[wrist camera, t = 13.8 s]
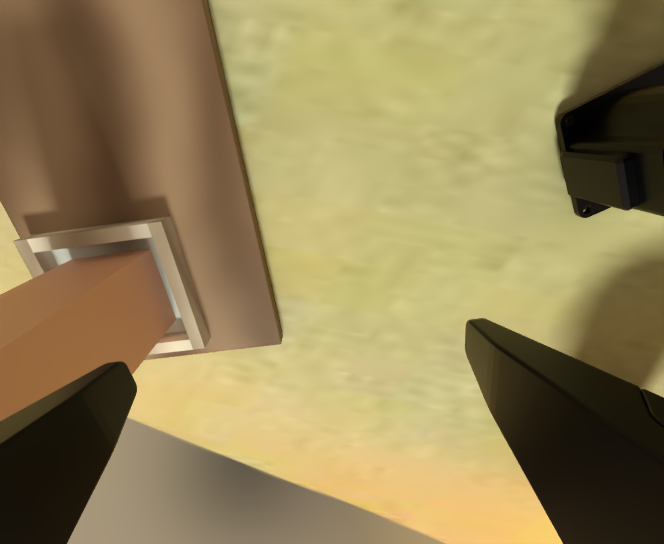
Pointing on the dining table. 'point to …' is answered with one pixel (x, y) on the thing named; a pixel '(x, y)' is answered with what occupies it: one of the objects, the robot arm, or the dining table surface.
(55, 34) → the baseboard
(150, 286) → the pillar
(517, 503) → the dining table surface
